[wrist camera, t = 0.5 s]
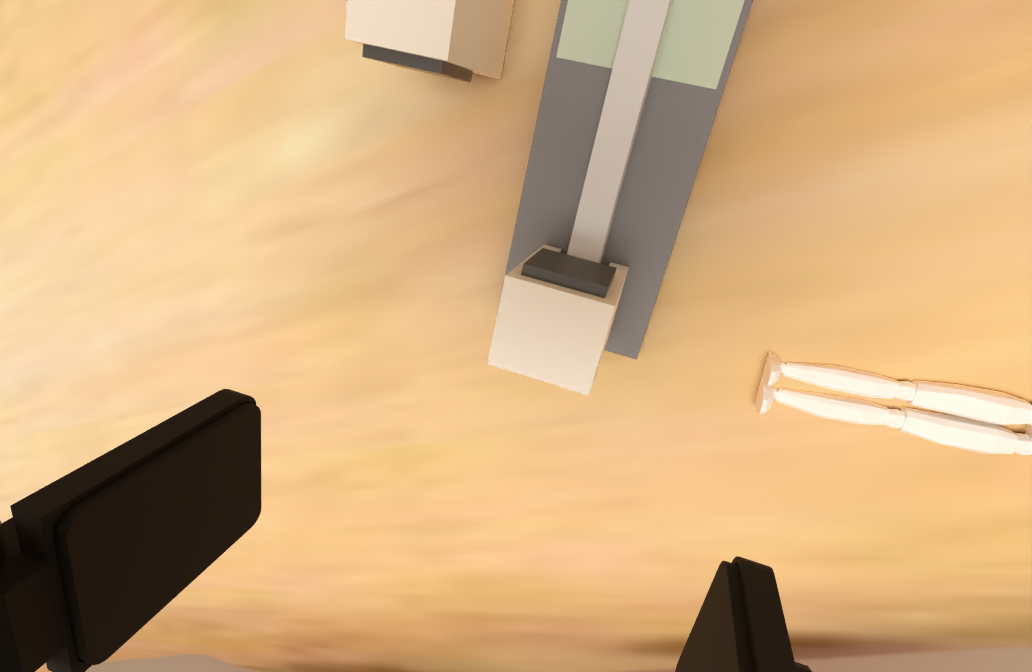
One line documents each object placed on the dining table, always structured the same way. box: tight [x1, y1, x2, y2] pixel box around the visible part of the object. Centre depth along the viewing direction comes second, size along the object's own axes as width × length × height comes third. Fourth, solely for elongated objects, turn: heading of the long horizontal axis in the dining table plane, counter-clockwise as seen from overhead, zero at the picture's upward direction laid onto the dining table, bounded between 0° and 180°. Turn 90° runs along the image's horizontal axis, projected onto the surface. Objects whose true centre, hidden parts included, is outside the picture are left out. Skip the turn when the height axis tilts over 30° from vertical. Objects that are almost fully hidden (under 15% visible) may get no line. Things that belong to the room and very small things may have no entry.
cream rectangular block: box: [345, 0, 514, 82], centre depth 30 cm, size 6×6×9 cm
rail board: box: [487, 0, 753, 396], centre depth 29 cm, size 25×10×11 cm, turn 168°
